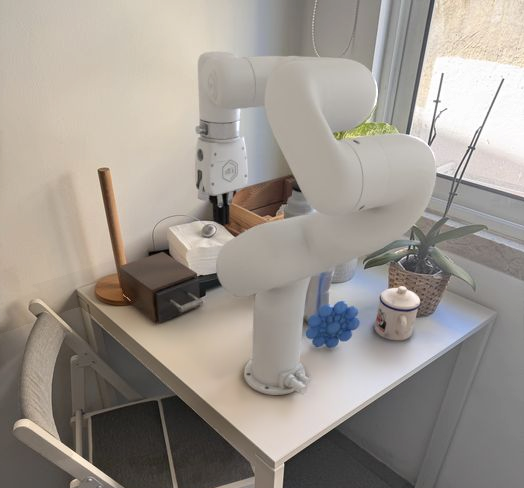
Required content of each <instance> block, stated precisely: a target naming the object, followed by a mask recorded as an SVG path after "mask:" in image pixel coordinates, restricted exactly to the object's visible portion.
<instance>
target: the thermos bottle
mask: <svg viewBox="0 0 524 488" xmlns="http://www.w3.org/2000/svg"><path fill="white" fill-rule="evenodd" d="M291 189H292V191H291V195H290V196H289V197H288V198H287V201H286V204H287V205H285V206H284V209H283V219H286V218H291V217H296V216H301V215H308V214H312V213H315V212H318V211H316V210H315V209H314V208H313V207H312V206H311V205H310V204H309V203H308V201H307V200H306V198H305V197H304V195H303V193H302V191H301V189H300V187H299V185H298V183H297V182H295V183H293V184H292V186H291ZM306 294H307V293H306Z"/></svg>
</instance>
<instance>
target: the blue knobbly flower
mask: <svg viewBox="0 0 524 488" xmlns="http://www.w3.org/2000/svg"><path fill="white" fill-rule="evenodd" d="M358 314H359V309H358V308H357V307H356V306H353V305H352V306H348V303H347V302H346V301H344V300H340V301H337V302H336V303H335V304H333V306H332V304H330V303H329V304H326V305H323V306H322V307H321V308H320V309H319V315H318V314H315V315H312V316H311V317H310V318H309V319H308V322H307V325H308V326H309V327H308V328H307V329H306V330H305V337H306V338H307V339H308V340H311V344H312V345H313V346H314V347H315V348H320V347H323V346H324V345H325V347H327V348H328V349H333V348H336V347H337V346H338V344H339V343H340V342H343V343H344V342H348V341H349V340H350V339H351V338H352V336H353V331H355V330H356V329H358V328H359V327H360V324H361V323H360V319H359V318H358V317H357V316H358Z"/></svg>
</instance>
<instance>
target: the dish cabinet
mask: <svg viewBox="0 0 524 488" xmlns="http://www.w3.org/2000/svg"><path fill="white" fill-rule="evenodd" d="M118 272H119V279H120V284H121V285H120V286H121V291H122V297H123V298H122V299H123V300H124V301H125V302H127V303H128V304H129V305H130V306H132V307H133V308H134V309H136V310H137V311H139V312H140V313H141V314H142V315H144V316H145V317H146V318H147V319H149V320H150V321H151V322H152V323H154V324H158V323H161V322H160V321H159V320H158V316H157V307H156V297H155V292H156V291H158V290H161V289H164V288H167V287H169V286H172V285H175V284H177V283H180V282H183V281H185V280H188V279H190V280H192V279H194V278H197V279H198V273H197V272H196V271H194V270H192V269H191V268H189V267H188V266H186V265H185V264H183V263H181V262H180V261H178V260H177V259H175V258H173V257H172V256H170V255H168V254H167V253H165V252H164V251H161V252H159V253H156V254H152V255H148V256H145V257H143V258H139V259H137V260H134V261H131V262H127V263H124V264H121V265H119V266H118ZM123 294H124V295H125V296H126V297H128V298H129V299H130V300H131V301H129V300H128V299H127V298H126V297H124V296H123Z"/></svg>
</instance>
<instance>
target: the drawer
mask: <svg viewBox="0 0 524 488" xmlns="http://www.w3.org/2000/svg"><path fill="white" fill-rule="evenodd" d="M200 295H201V294H200V279H199V278H198V277H197V278H194V279H192V280H190V279H188V280H185V281H183V282H180V283H177V285H176V286H173V287H170V288H168V289H165V290H162V291H160V292H158V291H156V292H155V297H156V307H157V316H158V320H159V321H160V322H159V323H162V322H165V321H167V320H169V319H172V318H175V317H178V316H179V315H181V314H184V313H187V312H189V311H191V310H194V309H196V308H198V307H200V306H201V305H203V304H204V299H203V298H202V297H200Z"/></svg>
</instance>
